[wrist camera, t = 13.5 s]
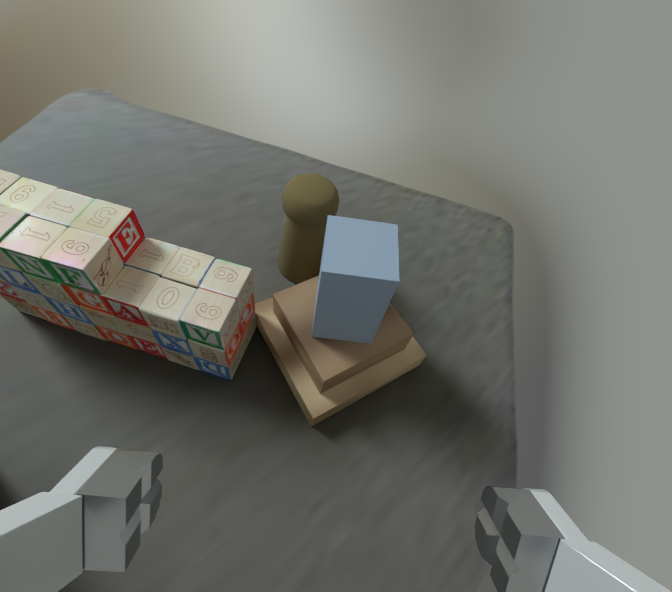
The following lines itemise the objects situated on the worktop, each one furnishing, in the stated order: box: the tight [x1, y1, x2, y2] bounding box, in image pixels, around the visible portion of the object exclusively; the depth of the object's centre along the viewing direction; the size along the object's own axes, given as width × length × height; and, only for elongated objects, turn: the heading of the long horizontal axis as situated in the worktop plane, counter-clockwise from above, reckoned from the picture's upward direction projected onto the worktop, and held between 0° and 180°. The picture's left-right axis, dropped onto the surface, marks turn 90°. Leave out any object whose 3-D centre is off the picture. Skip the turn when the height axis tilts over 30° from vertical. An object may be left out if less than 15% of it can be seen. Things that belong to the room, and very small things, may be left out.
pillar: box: [311, 215, 399, 344], centre depth 29 cm, size 5×5×9 cm
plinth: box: [255, 276, 427, 427], centre depth 35 cm, size 12×12×6 cm
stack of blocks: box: [0, 170, 257, 380], centre depth 31 cm, size 21×6×12 cm, turn 74°
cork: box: [278, 173, 339, 284], centre depth 38 cm, size 6×6×11 cm
